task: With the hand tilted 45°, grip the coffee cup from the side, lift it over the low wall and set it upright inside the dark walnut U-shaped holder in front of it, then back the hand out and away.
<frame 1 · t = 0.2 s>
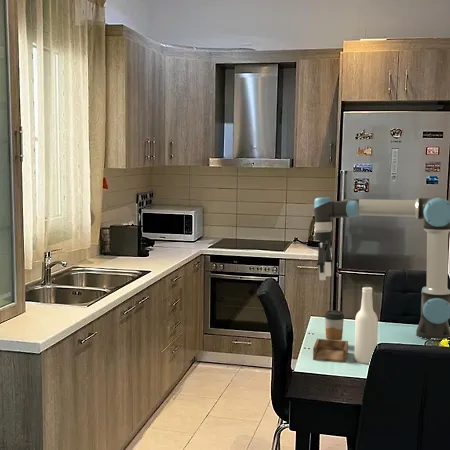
hand: (325, 278, 269), 27 cm above the table, tool pointing down, fingers open, 13 cm apart
cup holder: (330, 356, 245), on the table
white bottle: (365, 361, 239), on the table
coffee cup: (333, 346, 259), on the table
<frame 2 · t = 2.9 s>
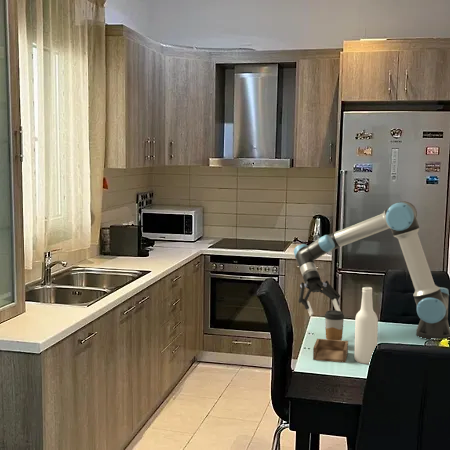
hand: (325, 313, 263), 13 cm above the table, tool tilted 45°, fingers open, 13 cm apart
nothing on the table moved.
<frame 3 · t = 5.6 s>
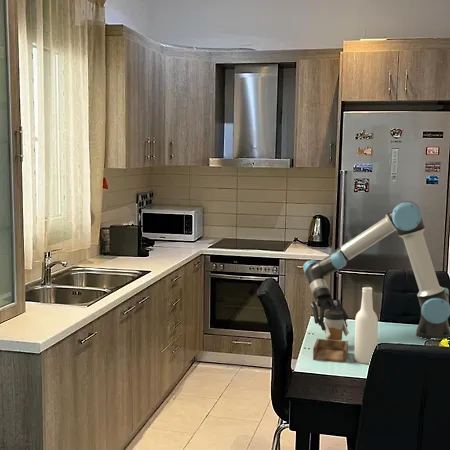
hand: (337, 335, 255), 6 cm above the table, tool tilted 45°, fingers closed on coffee cup, 8 cm apart
coffee cup: (333, 346, 259), on the table, touching gripper
everything else where it was.
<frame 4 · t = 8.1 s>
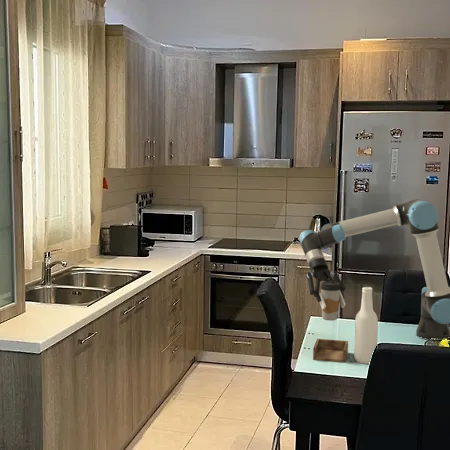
hand: (334, 307, 242), 21 cm above the table, tool tilted 45°, fingers closed on coffee cup, 8 cm apart
coffee cup: (329, 319, 246), point 15 cm above the table, touching gripper
everything else where it was.
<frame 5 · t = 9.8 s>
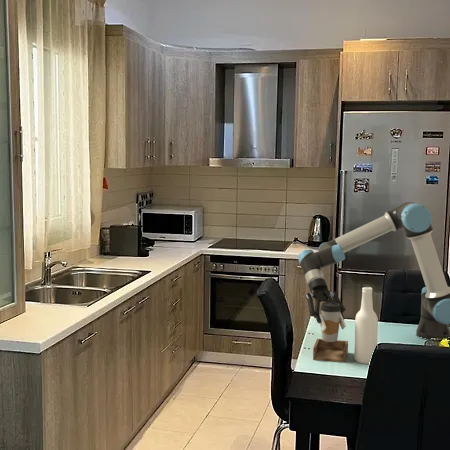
hand: (334, 328, 241), 13 cm above the table, tool tilted 45°, fingers closed on coffee cup, 8 cm apart
coffee cup: (329, 340, 245), point 7 cm above the table, touching gripper
everything else where it was.
when the fingers open (8 cm above the table, at t = 11.1 s): coffee cup drops 1 cm, resting on cup holder.
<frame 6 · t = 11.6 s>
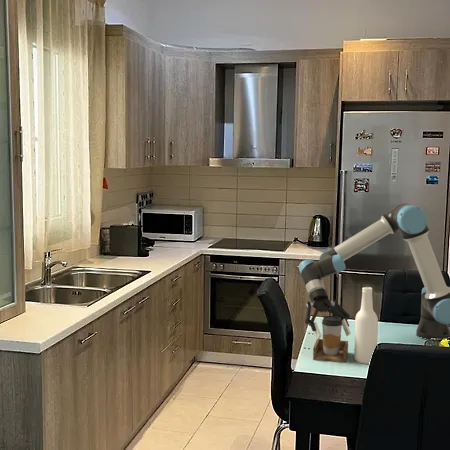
hand: (334, 336, 242), 9 cm above the table, tool tilted 45°, fingers open, 13 cm apart
coffee cup: (331, 353, 245), point 1 cm above the table, touching cup holder
everything else where it was.
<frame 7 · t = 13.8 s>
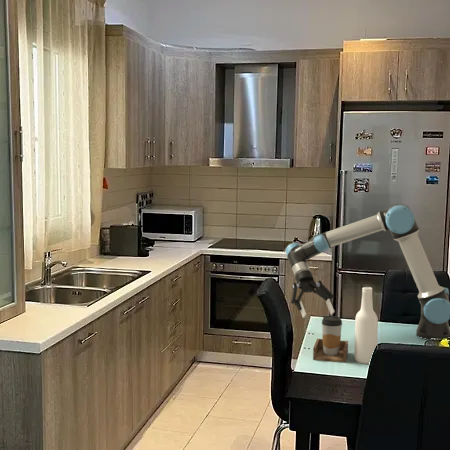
hand: (318, 314, 255), 15 cm above the table, tool tilted 45°, fingers open, 13 cm apart
nothing on the table moved.
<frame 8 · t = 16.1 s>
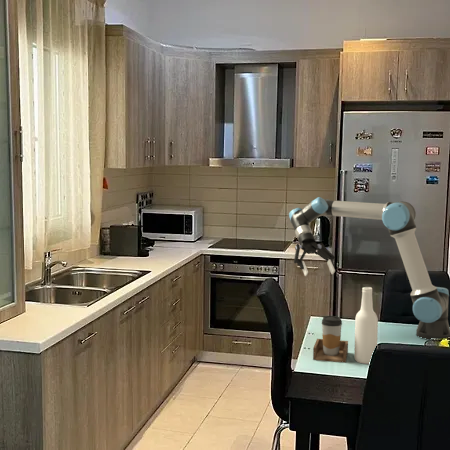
hand: (320, 273, 268), 30 cm above the table, tool tilted 45°, fingers open, 13 cm apart
nothing on the table moved.
at the end: coffee cup 0.2 cm off-centre on the cup holder, point 0.8 cm above the cup holder's base; coffee cup tilted 0°; the gripper is holding nothing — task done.
